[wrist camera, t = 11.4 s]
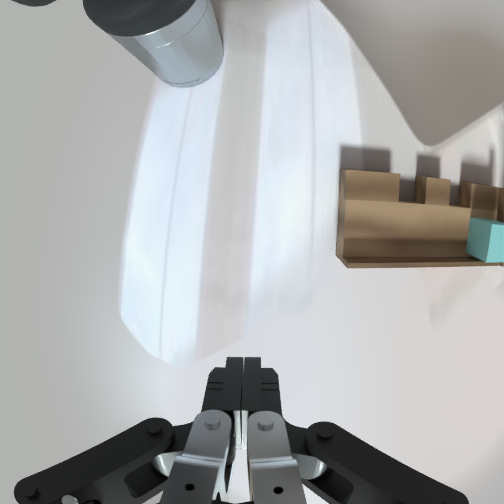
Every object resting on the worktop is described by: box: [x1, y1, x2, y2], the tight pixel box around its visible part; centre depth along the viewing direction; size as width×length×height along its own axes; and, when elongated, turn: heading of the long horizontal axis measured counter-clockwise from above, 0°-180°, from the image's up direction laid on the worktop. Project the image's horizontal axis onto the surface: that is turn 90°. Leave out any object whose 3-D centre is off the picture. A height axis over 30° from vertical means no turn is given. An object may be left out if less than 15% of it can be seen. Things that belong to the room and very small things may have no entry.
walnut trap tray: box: [336, 169, 504, 268], centre depth 35 cm, size 11×26×6 cm, turn 90°
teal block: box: [466, 217, 504, 263], centre depth 33 cm, size 5×5×5 cm
